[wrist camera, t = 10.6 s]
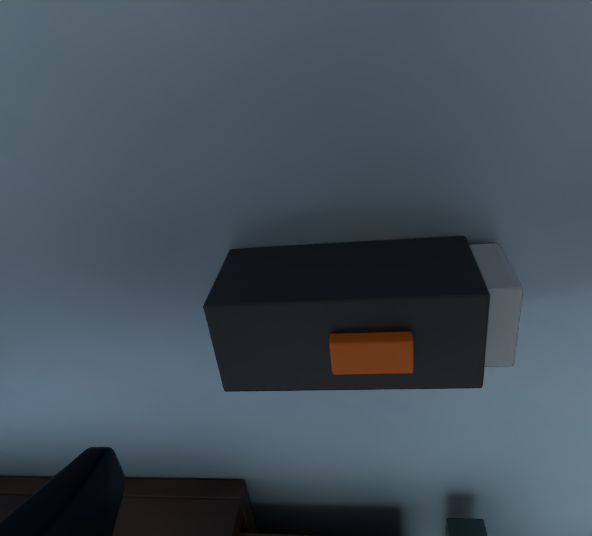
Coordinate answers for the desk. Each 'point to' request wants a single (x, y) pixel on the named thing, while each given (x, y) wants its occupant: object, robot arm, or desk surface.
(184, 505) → the cabinet
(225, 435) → the desk surface
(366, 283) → the black block orange patch
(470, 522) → the drawer
